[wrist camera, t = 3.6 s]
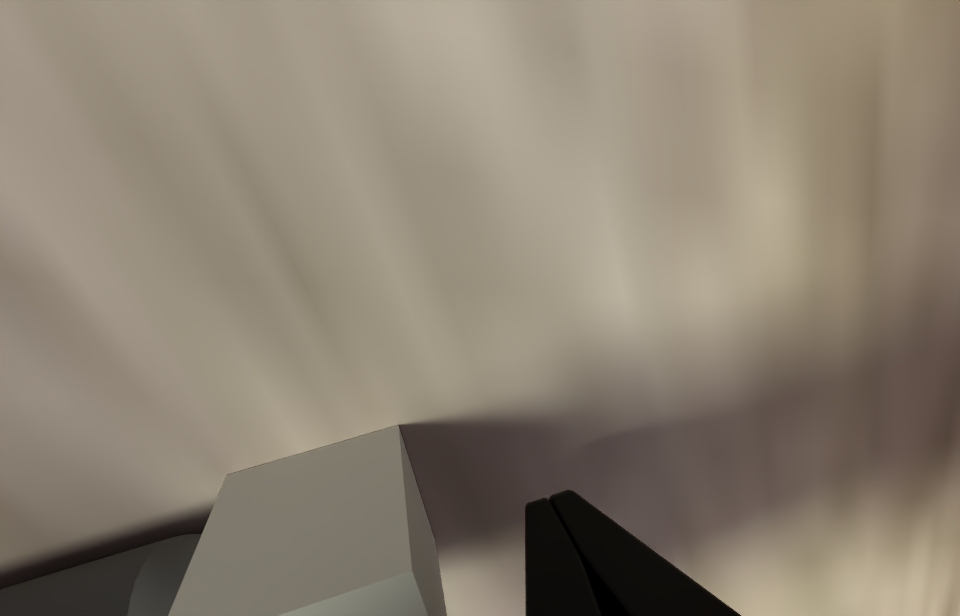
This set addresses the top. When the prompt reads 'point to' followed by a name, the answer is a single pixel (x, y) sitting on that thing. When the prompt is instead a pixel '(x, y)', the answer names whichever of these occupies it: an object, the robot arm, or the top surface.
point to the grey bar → (274, 548)
